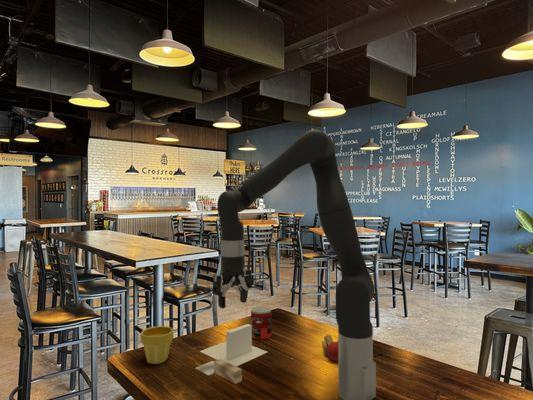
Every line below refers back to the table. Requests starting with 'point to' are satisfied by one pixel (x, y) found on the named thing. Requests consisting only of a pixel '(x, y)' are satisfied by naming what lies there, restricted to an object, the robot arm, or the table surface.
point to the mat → (220, 353)
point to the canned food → (261, 322)
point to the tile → (238, 341)
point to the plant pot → (157, 343)
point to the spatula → (222, 370)
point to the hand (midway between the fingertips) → (233, 304)
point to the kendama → (330, 348)
